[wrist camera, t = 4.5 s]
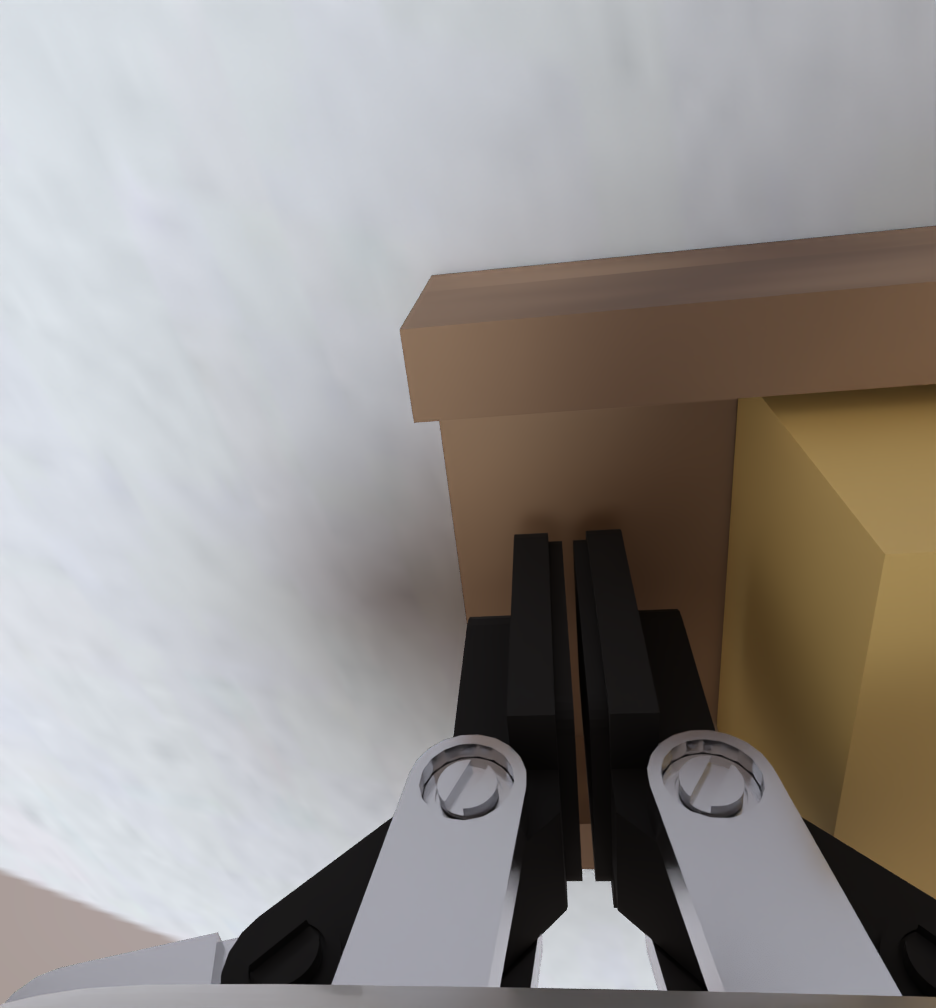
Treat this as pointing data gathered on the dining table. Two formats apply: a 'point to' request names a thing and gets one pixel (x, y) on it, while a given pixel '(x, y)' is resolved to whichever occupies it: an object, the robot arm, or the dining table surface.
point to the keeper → (839, 613)
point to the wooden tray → (646, 402)
